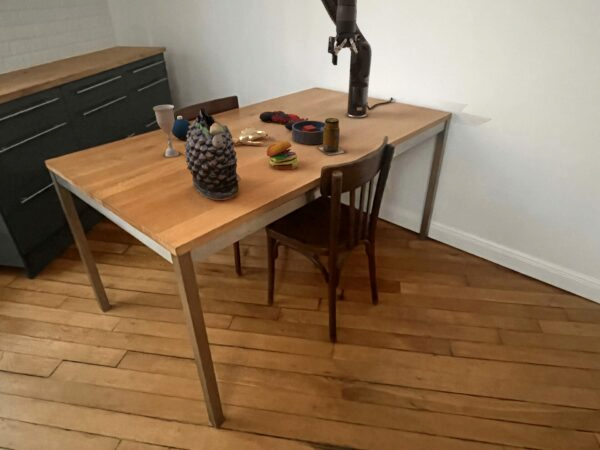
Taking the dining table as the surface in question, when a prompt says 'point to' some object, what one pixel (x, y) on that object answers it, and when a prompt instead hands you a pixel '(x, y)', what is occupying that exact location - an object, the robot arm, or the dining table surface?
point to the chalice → (166, 125)
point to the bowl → (308, 136)
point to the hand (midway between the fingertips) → (343, 64)
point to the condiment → (331, 137)
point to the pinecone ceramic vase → (211, 158)
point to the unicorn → (250, 136)
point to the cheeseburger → (282, 155)
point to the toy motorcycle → (281, 118)
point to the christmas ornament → (181, 128)
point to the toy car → (309, 128)
